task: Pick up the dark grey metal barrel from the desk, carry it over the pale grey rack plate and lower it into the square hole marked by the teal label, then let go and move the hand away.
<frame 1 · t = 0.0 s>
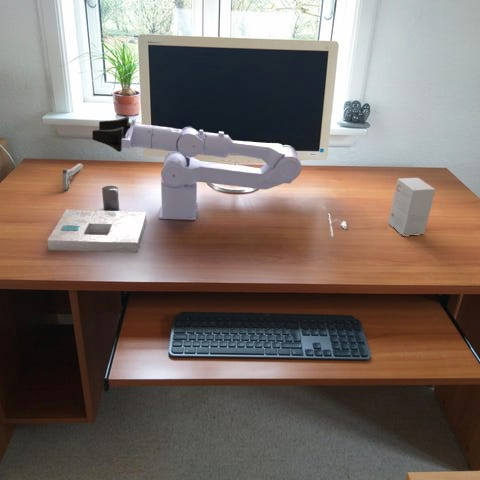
hand: (96, 130, 122), 22 cm above the table, tool horizontal, fingers open, 7 cm apart
small box: (405, 229, 133), on the table
barrel: (111, 209, 133), on the table
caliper: (74, 179, 151), on the table
rack plate: (100, 234, 121), on the table
picture light: (337, 227, 133), on the table
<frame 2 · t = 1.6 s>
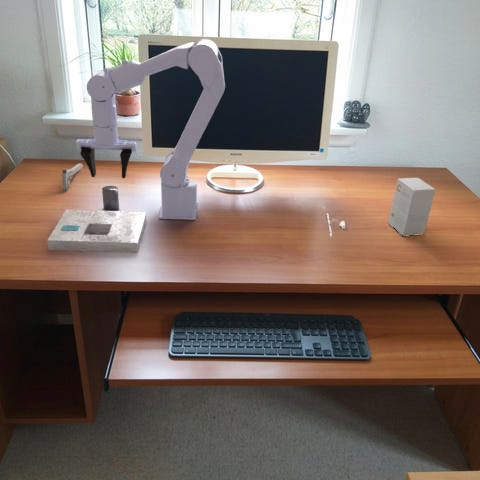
hand: (109, 176, 129), 9 cm above the table, tool pointing down, fingers open, 7 cm apart
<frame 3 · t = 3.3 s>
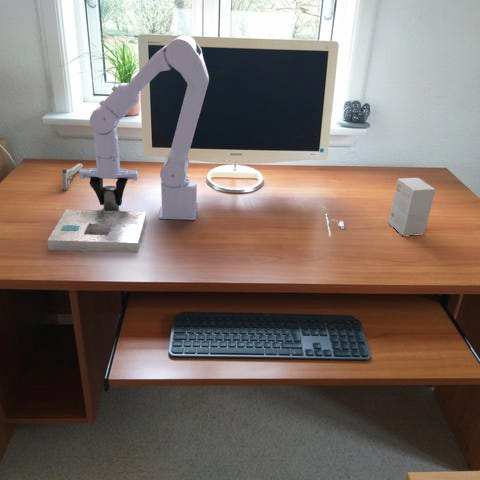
hand: (111, 203, 133), 2 cm above the table, tool pointing down, fingers closed on barrel, 4 cm apart
barrel: (111, 209, 133), on the table, touching gripper
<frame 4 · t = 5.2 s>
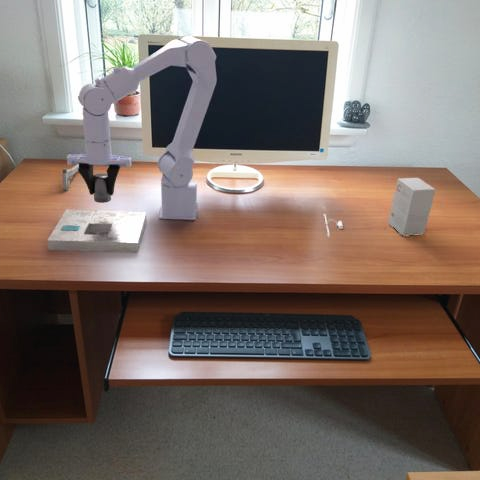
hand: (102, 193, 122), 8 cm above the table, tool pointing down, fingers closed on barrel, 4 cm apart
barrel: (102, 199, 123), point 7 cm above the table, touching gripper
when the fingers open (4 cm above the table, at t = 7.4 s): barrel drops 2 cm, resting in rack plate.
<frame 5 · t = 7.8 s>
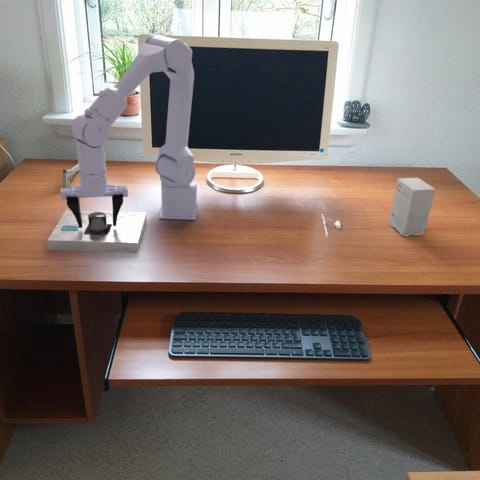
hand: (97, 224, 118), 4 cm above the table, tool pointing down, fingers open, 7 cm apart
barrel: (99, 238, 120), resting in rack plate
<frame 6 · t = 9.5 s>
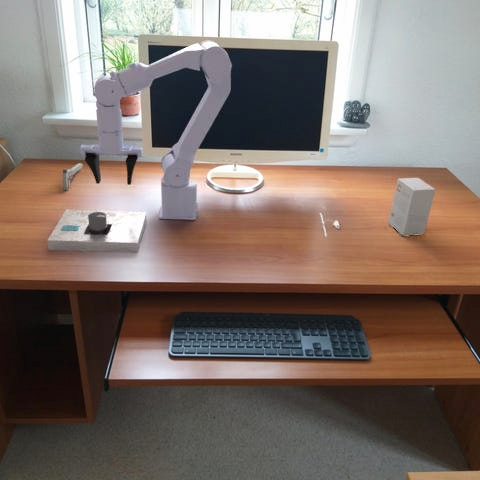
hand: (114, 182, 125), 9 cm above the table, tool pointing down, fingers open, 7 cm apart
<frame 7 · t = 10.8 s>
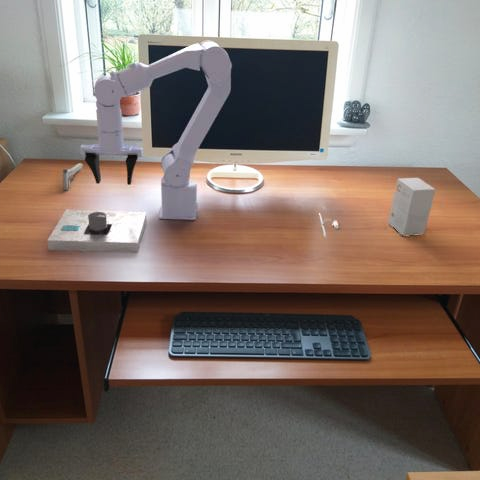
hand: (114, 182, 126), 9 cm above the table, tool pointing down, fingers open, 7 cm apart
at the end: barrel 0.2 cm from the target spot on the rack plate, point 0.0 cm above the rack plate's base; barrel tilted 0°; the gripper is holding nothing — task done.
